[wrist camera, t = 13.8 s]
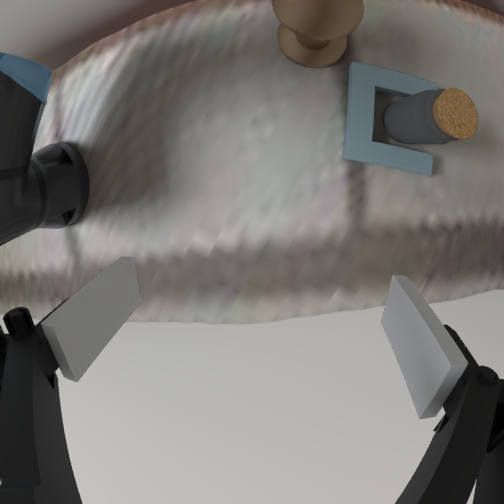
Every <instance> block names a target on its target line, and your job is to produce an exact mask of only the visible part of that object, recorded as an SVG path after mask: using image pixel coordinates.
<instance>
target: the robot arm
mask: <svg viewBox="0 0 504 504" xmlns="http://www.w3.org/2000/svg"><path fill="white" fill-rule="evenodd" d="M52 78H53V76H52V72H51V70H50V69H49V68H48V67H46V66H44V65H42V64H39V63H37V62H34V61H31V60H28V59H25V58H22V57H18V56H15V55H11V54H6V53H2V52H0V246H1V245H3V244H5V243H7V242H9V241H11V240H13V239H15V238H17V237H19V236H21V235H23V234H25V233H27V232H29V231H32V230H34V229H36V228H53V229H59V228H64V227H66V226H68V225H71V224H73V223H74V222H76V221H77V220H78V219H79V218H80V217H81V215H82V214H83V212H84V210H85V207H86V204H87V200H88V194H89V179H88V173H87V169H86V165H85V163H84V160H83V158H82V157H81V155H80V154H79V152H78V151H77V150H76V149H75V148H74V147H73V146H71V145H69V144H66V143H55V144H50V145H47V146H45V147H43V148H42V149H40V150H38V151H37V152H35V153H33V154H32V152H33V147H34V143H35V138H36V135H37V131H38V127H39V124H40V120H41V117H42V113H43V110H44V107H45V105H46V104H47V96H48V92H49V89H50V86H51V83H52ZM140 304H141V300H140V295H139V289H138V283H137V276H136V270H135V263H134V258H133V257H121V258H119V259H118V260H117V261H115V262H114V263H113V264H112V265H110V266H109V267H108V268H106V269H105V270H104V271H103V272H101V273H100V274H99V275H98V276H96V277H95V278H94V279H93V280H91V281H90V282H89V283H88V284H86V285H85V286H84V287H83V288H81V289H80V290H79V291H78V292H77V293H75V294H74V295H73V296H72V297H70V298H68V299H66V300H64V301H63V302H62V303H61V304H60V305H58V307H56V308H55V309H54V310H53V311H52V312H50V313H49V314H48V315H47V316H46V317H45V318H43V319H42V320H41V321H40V322H39V323H38V324H37V325H36V326H35V325H34V323H33V320H32V317H31V315H30V312H29V310H28V309H27V308H25V307H18V308H15V309H12V310H10V311H9V312H7V313H6V314H5V315H4V317H3V320H4V323H5V325H6V328H7V330H8V332H9V334H4V332H3V330H2V327H1V325H0V481H1V485H0V504H82V501H81V498H80V494H79V491H78V488H77V484H76V481H75V478H74V474H73V470H72V466H71V462H70V458H69V453H68V448H67V443H66V438H65V433H64V427H63V420H62V414H61V406H60V398H59V387H58V378H57V375H56V373H55V371H56V370H57V369H58V368H59V367H60V370H61V372H62V374H63V376H64V377H65V378H67V379H70V380H72V381H75V382H78V381H79V380H80V378H81V377H82V376H83V374H84V373H85V372H86V370H87V369H88V368H89V366H90V365H91V364H92V363H93V361H94V360H95V359H96V358H97V356H98V355H99V354H100V352H101V351H102V350H103V349H104V347H105V346H106V345H107V344H108V342H109V341H110V340H111V339H112V337H113V336H114V335H115V334H116V333H117V331H118V330H119V329H120V327H121V326H122V325H123V324H124V323H125V322H126V320H127V319H128V318H129V317H130V316H131V314H132V313H133V312H134V311H135V310H136V308H137V307H138V306H139V305H140ZM381 324H382V326H383V328H384V330H385V333H386V335H387V337H388V339H389V342H390V344H391V346H392V349H393V351H394V354H395V356H396V358H397V361H398V363H399V366H400V368H401V371H402V373H403V376H404V379H405V381H406V383H407V386H408V389H409V392H410V394H411V397H412V400H413V403H414V405H415V408H416V411H417V414H418V417H419V419H423V418H429V417H435V416H436V415H437V414H438V412H439V410H440V409H441V408H442V406H443V408H444V410H445V413H446V414H445V415H444V416H443V418H442V419H441V420H440V422H439V423H438V425H437V426H436V427H435V429H434V430H433V431H436V433H435V435H434V437H433V439H432V441H431V443H430V445H429V447H428V449H427V451H426V453H425V455H424V457H423V459H422V460H421V462H420V464H419V466H418V468H417V469H416V472H415V473H414V475H413V476H412V478H411V480H410V481H409V483H408V484H407V486H406V488H405V489H404V491H403V493H402V494H401V495H400V497H399V498H398V500H397V501H396V503H395V504H466V503H467V501H468V499H469V496H470V494H471V492H472V489H473V486H474V484H475V481H476V479H477V481H476V488H475V493H474V499H473V504H504V379H499V377H498V375H497V374H496V372H494V370H492V369H491V368H489V367H486V366H478V364H477V363H476V361H475V359H474V358H473V356H472V355H471V353H470V352H469V351H468V349H467V347H466V346H465V345H464V343H463V341H462V340H460V337H459V336H458V334H457V333H456V332H455V331H454V330H453V329H451V327H449V326H448V325H443V324H442V323H441V321H440V320H439V319H438V317H437V316H436V314H435V313H434V311H433V310H432V309H431V308H430V306H429V305H428V303H427V302H426V301H425V299H424V298H423V297H422V295H421V294H420V293H419V291H418V290H417V289H416V288H415V286H414V285H413V284H412V283H411V281H410V280H409V279H408V277H407V276H404V275H393V276H392V281H391V285H390V289H389V293H388V297H387V301H386V304H385V308H384V312H383V315H382V319H381Z"/></svg>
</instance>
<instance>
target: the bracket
mask: <svg viewBox="0 0 504 504" xmlns="http://www.w3.org/2000/svg"><path fill="white" fill-rule="evenodd" d="M375 90H376V91H380V92H385V93H389V94H393V95H397V96H401V97H405V98H406V97H409V96H411V95H414V94H416V93H419V92H422V91H425V90H437V84H435V83H433V82H430V81H427V80H424V79H421V78H417V77H414V76H411V75H407V74H404V73H400V72H397V71H393V70H389V69H385V68H381V67H377V66H372V65H368V64H363V63H358V62H353V61H352V63H351V64H350V66H349V85H348V106H347V121H346V135H345V146H344V157H343V159H348V160H354V161H360V162H366V163H372V164H377V165H383V166H388V167H393V168H398V169H402V170H407V171H412V172H416V173H420V174H425V175H429V176H431V174H432V166H433V156H434V155H430V154H426V153H422V152H418V151H414V150H410V149H406V148H402V147H397V146H393V145H388V144H383V143H379V142H373V141H372V135H373V121H374V103H375Z"/></svg>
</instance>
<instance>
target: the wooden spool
mask: <svg viewBox="0 0 504 504" xmlns="http://www.w3.org/2000/svg"><path fill="white" fill-rule="evenodd" d="M272 5H273V10H274V13H275V15H276V17H277V19H278V20H279V21H280V22H281V24H280V26H279V29H278V41H279V45H280V47H281V49H282V51H283V52H284V54H285V55H286V56H287V57H288V58H289V59H291V60H292V61H294V62H295V63H297V64H300V65H302V66H306V67H311V68H321V67H326V66H329V65H331V64H333V63H335V62H336V61H338V60H339V59H340V58H341V56H342V55H343V53H344V51H345V49H346V46H347V35H349V34H350V33H352V32H353V31H354V30H355V29H356V28H357V26H358V25H359V23H360V21H361V19H362V17H363V13H364V7H363V2H362V0H272Z"/></svg>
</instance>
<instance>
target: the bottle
mask: <svg viewBox="0 0 504 504" xmlns="http://www.w3.org/2000/svg"><path fill="white" fill-rule="evenodd" d="M383 124H384V127H385V130H386V132H387V133H388V135H389V136H390V137H391V138H392V139H394V140H395V141H397V142H400V143H407V144H445V143H448V142H450V141H457V140H460V139H468V138H470V137H471V136H472V135H473V134H474V133H475V131H476V129H477V125H478V115H477V111H476V108H475V105H474V104H473V102H472V100H471V99H470V98H469V96H468V95H467V94H465V93H464V92H463V91H461V90H459V89H455V88H449V89H439V90H425V91H422V92H419V93H416V94H414V95H411V96H409V97H406V98H404V99H401V100H399V101H396V102H394V103H392V104H390V105H389V106H388V107H387V108H386V110H385V112H384V115H383Z"/></svg>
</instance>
